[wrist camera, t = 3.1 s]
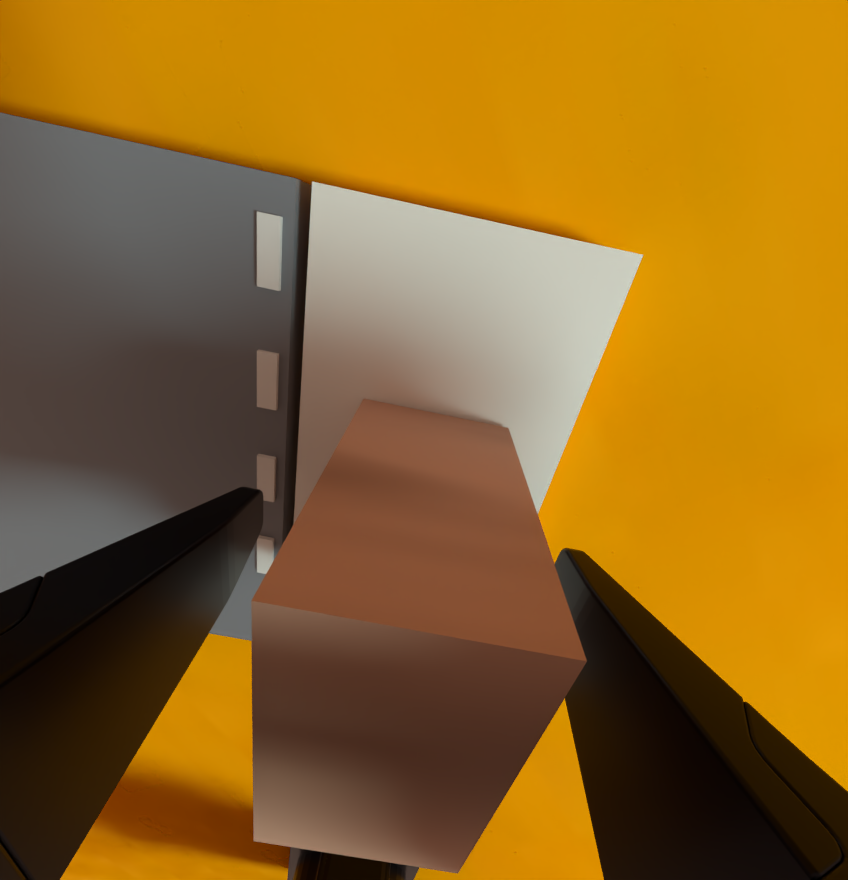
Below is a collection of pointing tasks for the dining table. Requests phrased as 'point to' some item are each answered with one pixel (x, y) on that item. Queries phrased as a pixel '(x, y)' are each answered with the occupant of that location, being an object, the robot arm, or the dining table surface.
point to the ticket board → (143, 345)
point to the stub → (422, 527)
